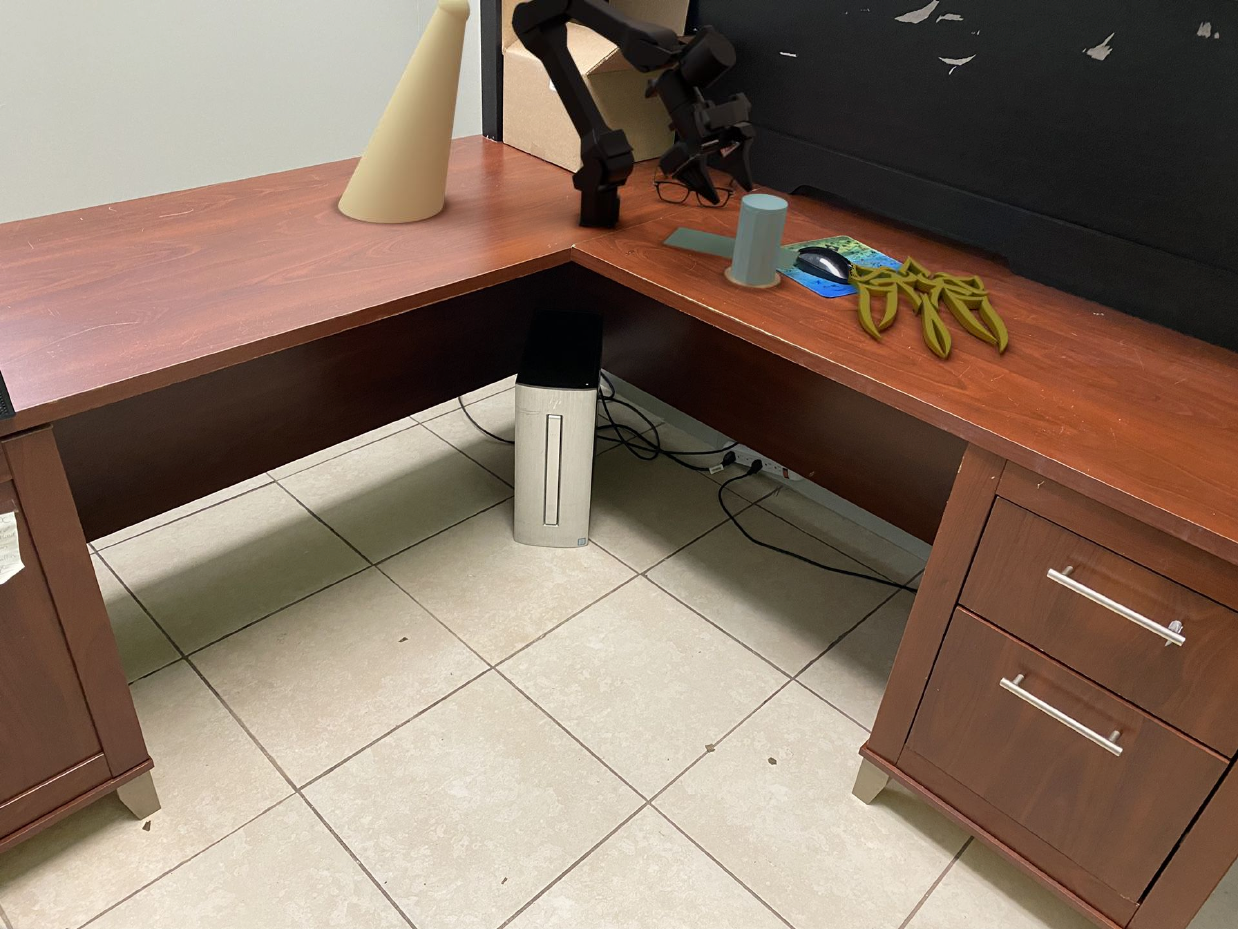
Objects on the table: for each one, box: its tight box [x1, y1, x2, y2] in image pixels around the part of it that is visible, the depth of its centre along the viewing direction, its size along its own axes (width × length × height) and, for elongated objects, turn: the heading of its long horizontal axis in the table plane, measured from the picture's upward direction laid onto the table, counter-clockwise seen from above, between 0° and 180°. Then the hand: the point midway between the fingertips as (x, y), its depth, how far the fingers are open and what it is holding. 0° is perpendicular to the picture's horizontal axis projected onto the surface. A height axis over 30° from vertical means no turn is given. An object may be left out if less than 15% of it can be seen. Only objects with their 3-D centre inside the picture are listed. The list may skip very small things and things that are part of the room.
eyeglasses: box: [652, 164, 739, 209], centre depth 170 cm, size 16×16×4 cm
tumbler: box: [731, 193, 789, 285], centre depth 135 cm, size 7×7×12 cm
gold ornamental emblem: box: [847, 254, 1009, 359], centre depth 133 cm, size 22×2×35 cm
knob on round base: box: [723, 265, 781, 289], centre depth 137 cm, size 9×9×6 cm
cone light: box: [337, 0, 471, 224], centre depth 144 cm, size 25×18×35 cm
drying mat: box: [662, 226, 801, 272], centre depth 148 cm, size 22×9×1 cm, turn 68°
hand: (734, 197), depth 134 cm, fingers open, 9 cm apart
